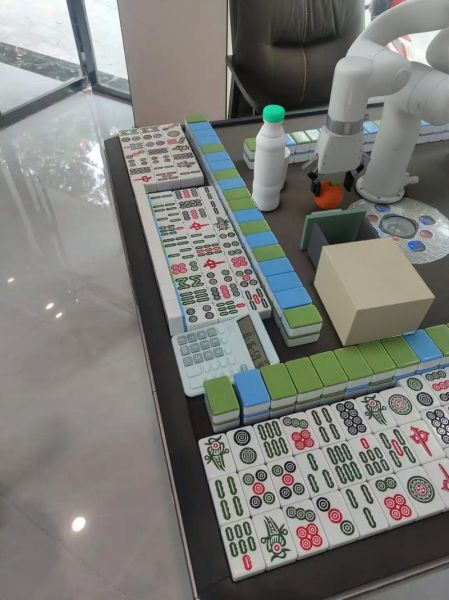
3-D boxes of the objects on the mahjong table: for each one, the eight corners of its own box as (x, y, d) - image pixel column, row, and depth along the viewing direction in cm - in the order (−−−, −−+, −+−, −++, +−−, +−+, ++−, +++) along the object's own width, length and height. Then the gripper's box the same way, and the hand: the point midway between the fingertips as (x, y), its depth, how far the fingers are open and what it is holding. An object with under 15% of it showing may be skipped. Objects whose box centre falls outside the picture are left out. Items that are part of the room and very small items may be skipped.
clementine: (334, 196, 112) (340, 171, 107) (349, 210, 107) (355, 185, 102) (307, 202, 110) (311, 177, 105) (320, 217, 106) (325, 192, 100)
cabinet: (313, 283, 93) (322, 246, 85) (377, 274, 95) (391, 236, 87) (343, 346, 82) (357, 310, 74) (414, 334, 84) (435, 297, 76)
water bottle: (276, 214, 109) (289, 117, 90) (249, 210, 110) (255, 113, 91) (280, 198, 113) (292, 102, 95) (253, 194, 114) (260, 99, 95)
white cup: (255, 177, 120) (257, 144, 112) (283, 176, 120) (287, 142, 113) (258, 194, 114) (261, 160, 107) (288, 192, 115) (293, 159, 107)
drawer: (294, 234, 102) (299, 203, 95) (347, 227, 104) (356, 196, 97) (324, 295, 89) (332, 264, 83) (384, 285, 91) (397, 254, 85)
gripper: (375, 109, 95) (358, 177, 108) (299, 119, 93) (292, 188, 107) (390, 125, 90) (371, 195, 104) (311, 136, 88) (302, 206, 102)
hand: (331, 191), depth 105 cm, fingers closed on clementine, 7 cm apart
